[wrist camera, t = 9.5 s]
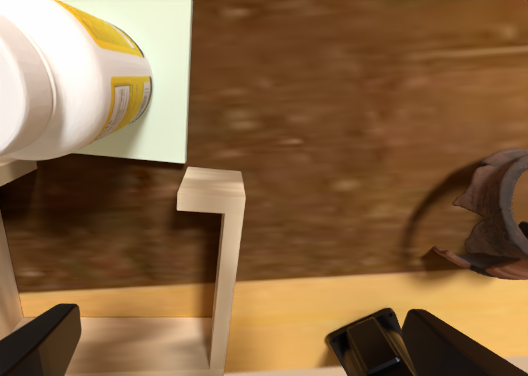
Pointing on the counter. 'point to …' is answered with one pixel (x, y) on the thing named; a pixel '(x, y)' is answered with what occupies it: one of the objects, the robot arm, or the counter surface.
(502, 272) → the brown curved piece
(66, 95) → the supplement bottle
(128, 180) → the counter surface
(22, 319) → the open frame
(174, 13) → the pad
